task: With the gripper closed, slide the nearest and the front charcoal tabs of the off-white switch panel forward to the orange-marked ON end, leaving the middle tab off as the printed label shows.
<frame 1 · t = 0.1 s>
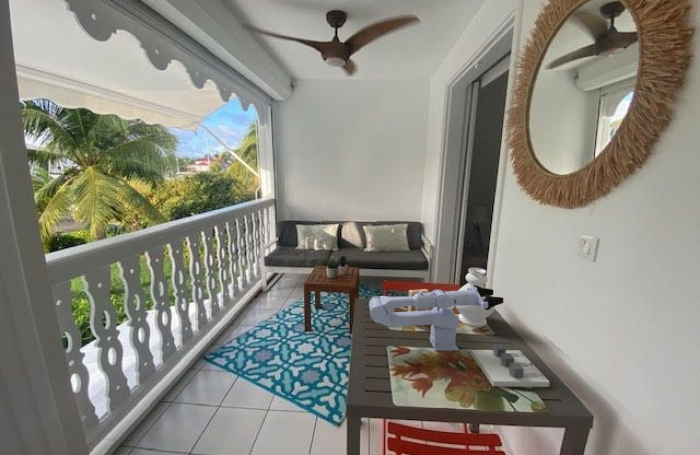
hand: (497, 296, 112), 22 cm above the table, tool horizontal, fingers open, 7 cm apart
tab 2: (507, 359, 101), point 4 cm above the table, slide at 0.0 cm
decorative vase: (472, 320, 137), on the table
tab 3: (516, 370, 96), point 4 cm above the table, slide at 0.0 cm
switch panel: (506, 369, 102), on the table
candy box: (417, 321, 135), on the table
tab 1: (499, 350, 107), point 4 cm above the table, slide at 0.0 cm
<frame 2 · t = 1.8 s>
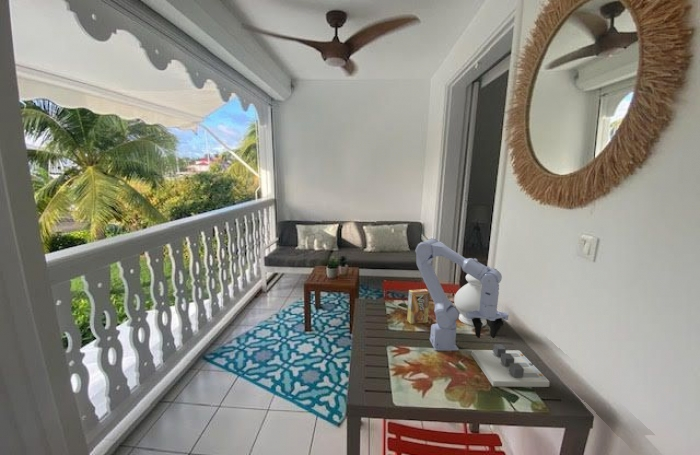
hand: (484, 336, 106), 9 cm above the table, tool pointing down, fingers open, 5 cm apart
nothing on the table moved.
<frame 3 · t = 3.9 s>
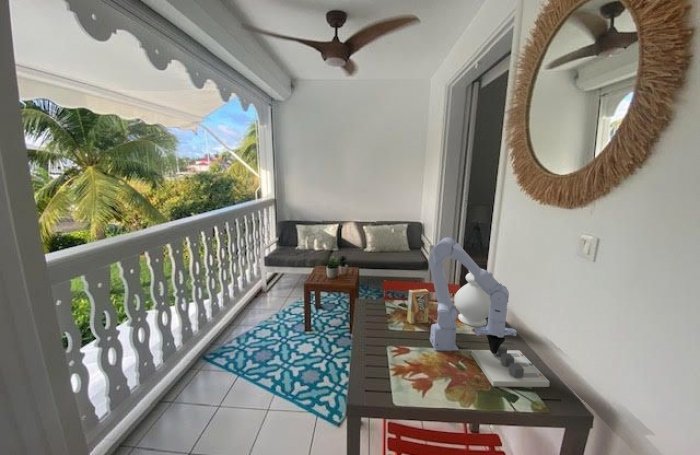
hand: (493, 352, 107), 3 cm above the table, tool pointing down, fingers closed
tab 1: (500, 350, 107), point 4 cm above the table, slide at 0.5 cm, touching gripper
everything else where it was.
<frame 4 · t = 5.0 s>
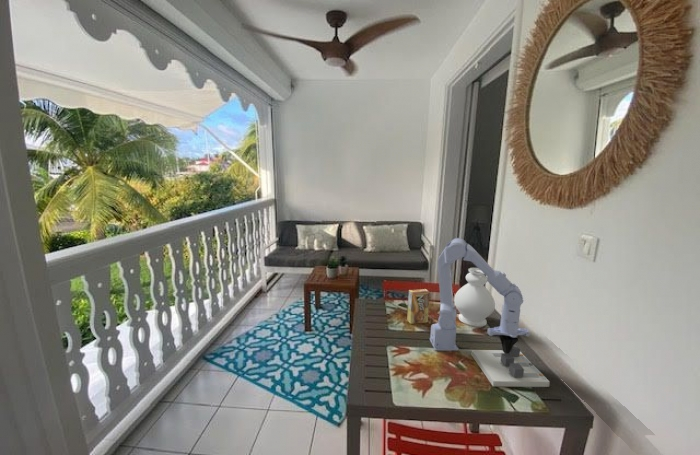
hand: (505, 352, 107), 3 cm above the table, tool pointing down, fingers closed
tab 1: (513, 350, 107), point 4 cm above the table, slide at 5.3 cm, touching gripper
everything else where it was.
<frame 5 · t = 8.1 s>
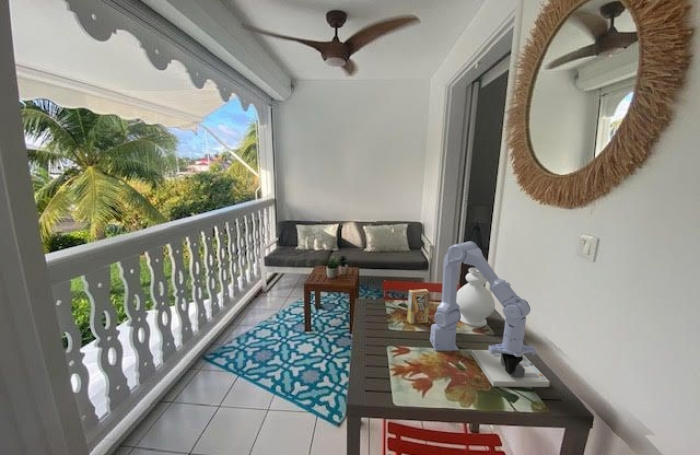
hand: (508, 372, 96), 3 cm above the table, tool pointing down, fingers closed
tab 3: (517, 370, 96), point 4 cm above the table, slide at 0.3 cm, touching gripper
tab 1: (513, 350, 107), point 4 cm above the table, slide at 5.3 cm
everything else where it was.
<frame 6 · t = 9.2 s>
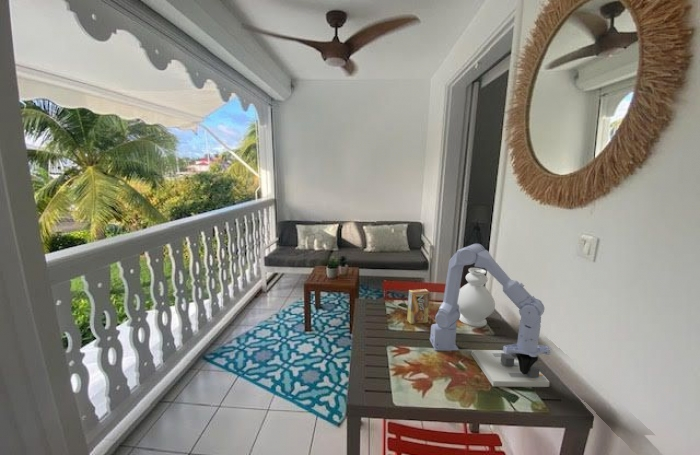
hand: (523, 372, 96), 3 cm above the table, tool pointing down, fingers closed
tab 3: (531, 370, 96), point 4 cm above the table, slide at 5.3 cm, touching gripper
everything else where it was.
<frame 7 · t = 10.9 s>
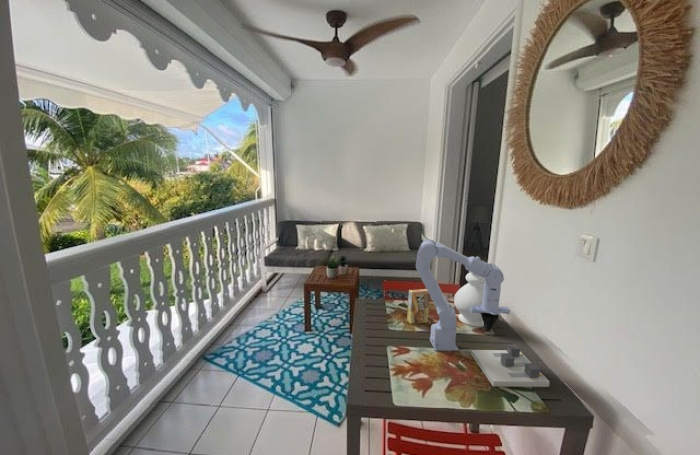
hand: (487, 330, 110), 9 cm above the table, tool pointing down, fingers closed
tab 3: (532, 370, 96), point 4 cm above the table, slide at 5.3 cm
everything else where it was.
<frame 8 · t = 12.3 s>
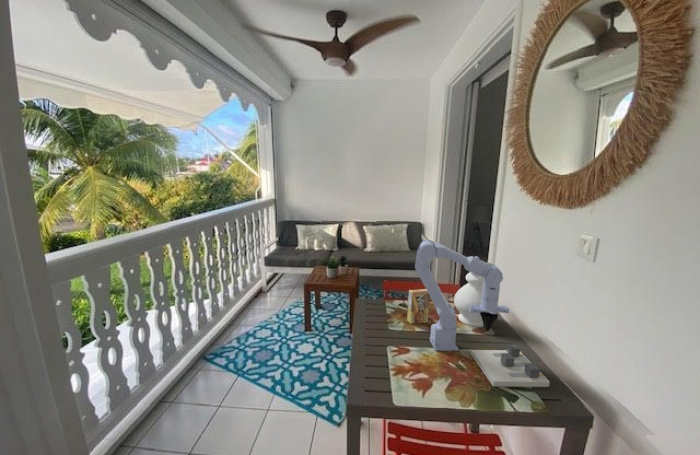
hand: (486, 329, 111), 9 cm above the table, tool pointing down, fingers closed
nothing on the table moved.
at the end: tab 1 slide at 5.3 cm; tab 3 slide at 5.3 cm; tab 2 slide at 0.0 cm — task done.
